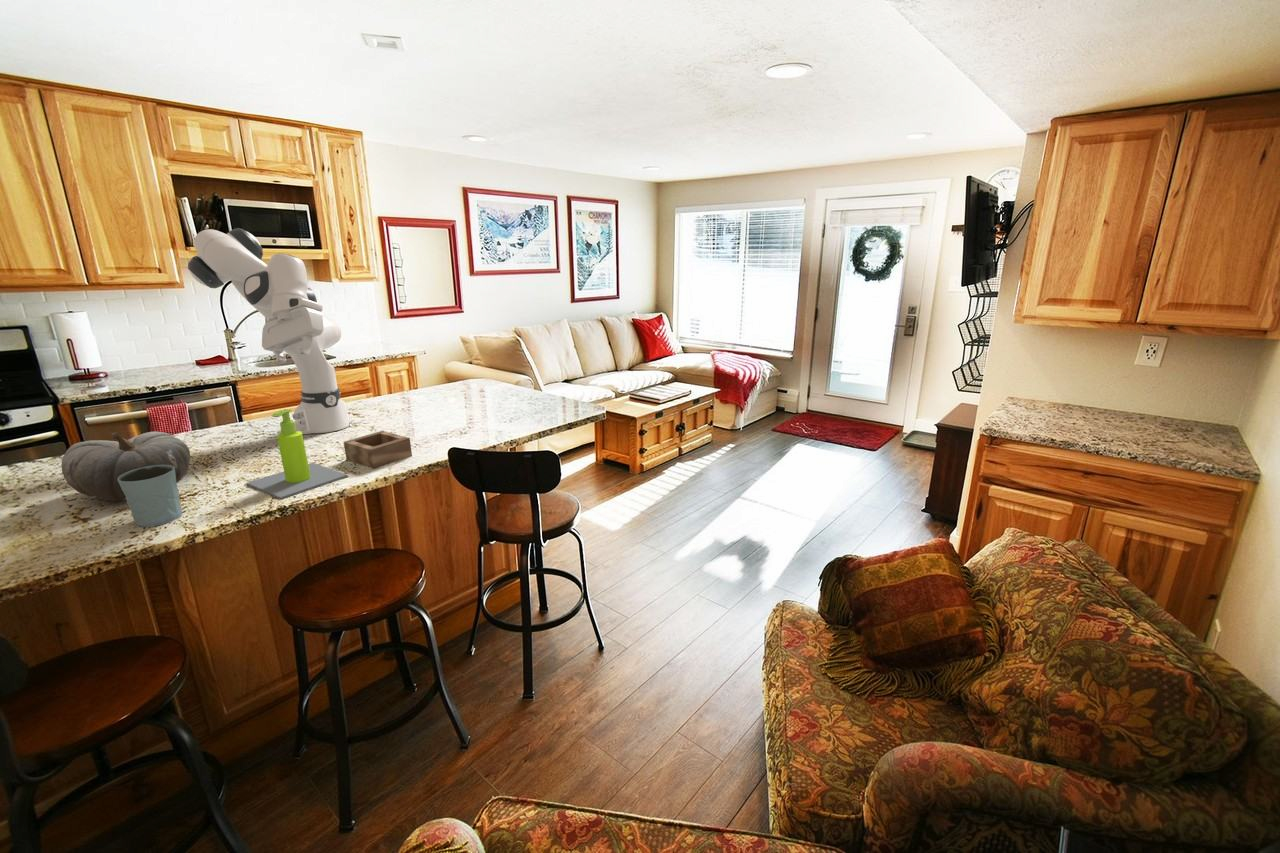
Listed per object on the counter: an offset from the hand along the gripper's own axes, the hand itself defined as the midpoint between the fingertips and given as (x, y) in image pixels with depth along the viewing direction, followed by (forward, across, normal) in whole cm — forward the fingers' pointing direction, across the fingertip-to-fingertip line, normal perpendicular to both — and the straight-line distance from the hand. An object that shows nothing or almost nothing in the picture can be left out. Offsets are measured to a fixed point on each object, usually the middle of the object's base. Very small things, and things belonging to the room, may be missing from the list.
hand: (293, 358), depth 149 cm
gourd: (+29, -44, -13) cm, 54 cm away
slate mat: (+32, -10, +7) cm, 34 cm away
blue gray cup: (+39, -21, -20) cm, 49 cm away
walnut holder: (+26, -2, +28) cm, 38 cm away
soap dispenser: (+32, -10, +7) cm, 34 cm away
